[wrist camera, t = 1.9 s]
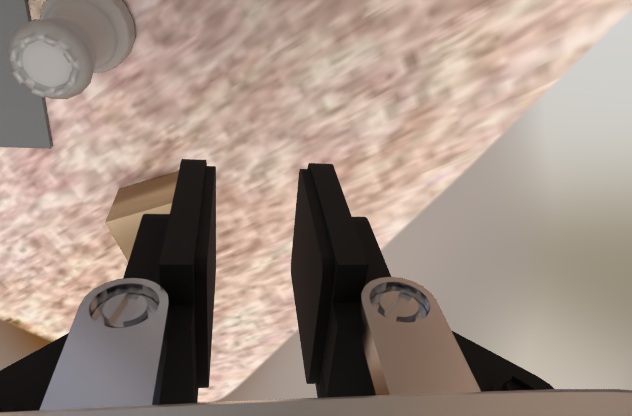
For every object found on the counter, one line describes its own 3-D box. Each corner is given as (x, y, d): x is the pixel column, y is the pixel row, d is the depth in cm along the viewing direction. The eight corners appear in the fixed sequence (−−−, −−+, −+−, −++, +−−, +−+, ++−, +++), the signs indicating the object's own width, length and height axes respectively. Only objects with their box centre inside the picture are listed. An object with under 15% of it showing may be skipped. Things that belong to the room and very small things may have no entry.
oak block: (119, 188, 32) (105, 222, 29) (180, 170, 32) (173, 202, 29) (146, 238, 34) (136, 275, 31) (203, 221, 34) (199, 257, 31)
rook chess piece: (66, 74, 28) (12, 129, 21) (31, -13, 26) (-42, 18, 19) (147, 59, 28) (119, 110, 22) (120, -28, 26) (79, -3, 19)
